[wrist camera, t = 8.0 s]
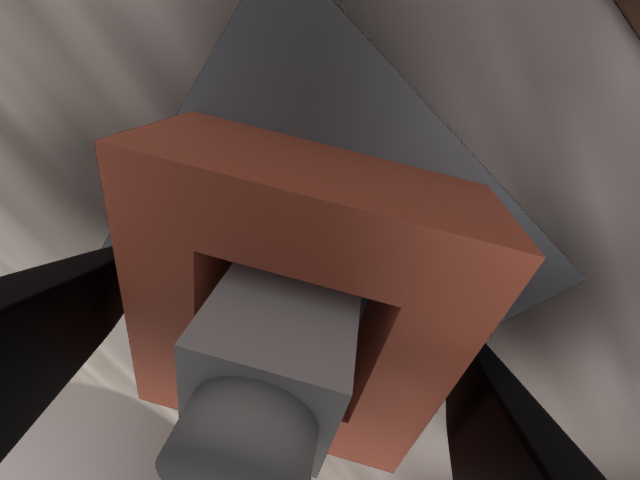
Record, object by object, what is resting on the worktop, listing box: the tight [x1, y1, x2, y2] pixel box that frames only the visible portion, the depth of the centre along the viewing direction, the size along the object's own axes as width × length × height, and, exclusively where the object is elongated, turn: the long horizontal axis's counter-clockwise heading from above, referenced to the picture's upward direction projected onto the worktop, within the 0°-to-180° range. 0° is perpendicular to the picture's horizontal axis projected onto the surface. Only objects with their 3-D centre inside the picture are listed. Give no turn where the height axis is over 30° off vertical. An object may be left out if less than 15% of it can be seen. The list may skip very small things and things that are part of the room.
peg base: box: [101, 0, 586, 480], centre depth 7 cm, size 10×10×6 cm
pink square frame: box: [94, 111, 546, 473], centre depth 8 cm, size 7×7×3 cm
